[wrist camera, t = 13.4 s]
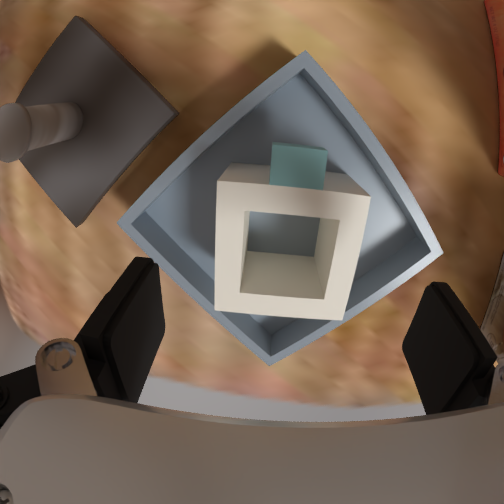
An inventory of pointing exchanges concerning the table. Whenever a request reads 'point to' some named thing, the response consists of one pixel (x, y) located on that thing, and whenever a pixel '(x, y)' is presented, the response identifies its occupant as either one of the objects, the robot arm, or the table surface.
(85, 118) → the board
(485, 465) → the robot arm
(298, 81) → the tray
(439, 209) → the table surface
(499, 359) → the coffee box
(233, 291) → the collar
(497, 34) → the cracker box
